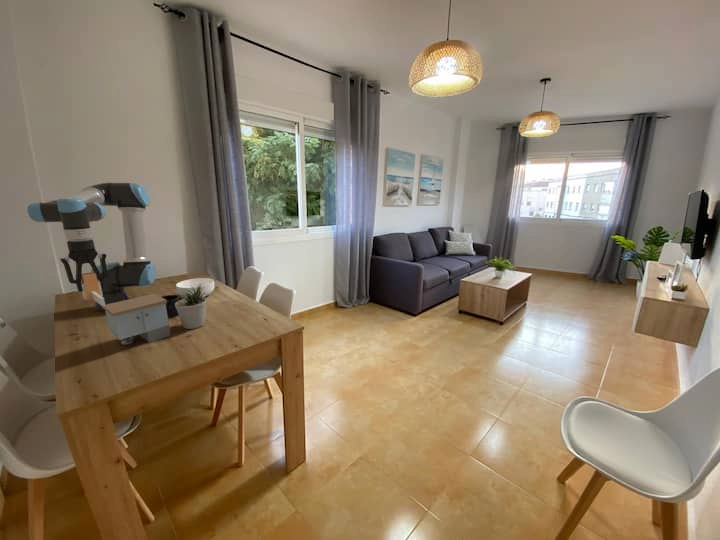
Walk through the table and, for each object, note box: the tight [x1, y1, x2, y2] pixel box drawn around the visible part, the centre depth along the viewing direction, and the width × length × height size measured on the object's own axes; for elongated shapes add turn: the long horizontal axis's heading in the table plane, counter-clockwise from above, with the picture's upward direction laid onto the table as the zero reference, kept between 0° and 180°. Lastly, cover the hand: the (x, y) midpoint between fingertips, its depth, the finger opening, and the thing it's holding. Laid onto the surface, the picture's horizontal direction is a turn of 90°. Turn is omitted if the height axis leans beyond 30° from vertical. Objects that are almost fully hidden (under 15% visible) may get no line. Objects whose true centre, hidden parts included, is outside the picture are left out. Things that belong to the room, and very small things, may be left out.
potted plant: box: [175, 285, 208, 330], centre depth 134 cm, size 13×14×20 cm
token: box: [120, 336, 136, 346], centre depth 120 cm, size 4×4×1 cm
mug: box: [161, 294, 180, 319], centre depth 146 cm, size 9×12×9 cm
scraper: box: [81, 271, 106, 306], centre depth 115 cm, size 16×4×10 cm, turn 53°
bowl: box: [175, 277, 215, 299], centre depth 174 cm, size 20×20×8 cm
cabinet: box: [102, 293, 171, 344], centre depth 121 cm, size 14×18×16 cm
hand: (93, 296), depth 119 cm, fingers closed on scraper, 4 cm apart
